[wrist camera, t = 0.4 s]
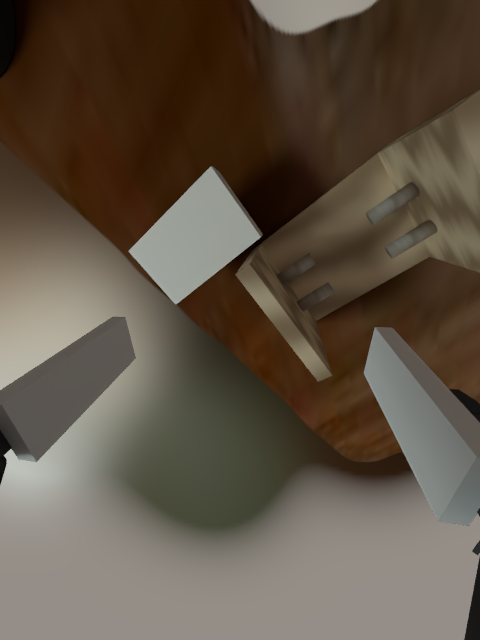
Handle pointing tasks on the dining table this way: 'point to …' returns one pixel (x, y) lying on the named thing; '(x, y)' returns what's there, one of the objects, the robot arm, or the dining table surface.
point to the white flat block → (196, 237)
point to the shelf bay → (373, 229)
